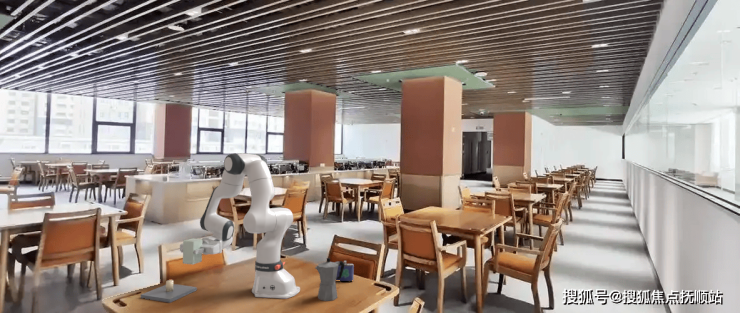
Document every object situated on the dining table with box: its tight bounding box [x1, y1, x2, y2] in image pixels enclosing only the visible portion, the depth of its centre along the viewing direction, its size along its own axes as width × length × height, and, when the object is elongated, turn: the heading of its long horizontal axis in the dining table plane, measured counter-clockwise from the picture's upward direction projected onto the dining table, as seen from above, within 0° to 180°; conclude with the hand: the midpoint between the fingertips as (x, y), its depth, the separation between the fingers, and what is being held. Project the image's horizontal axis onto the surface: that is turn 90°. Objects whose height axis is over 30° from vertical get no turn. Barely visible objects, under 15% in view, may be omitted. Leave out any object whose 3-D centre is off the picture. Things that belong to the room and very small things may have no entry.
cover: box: [182, 237, 203, 265], centre depth 184 cm, size 6×6×11 cm
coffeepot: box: [314, 257, 345, 302], centre depth 172 cm, size 15×9×18 cm, turn 127°
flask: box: [335, 260, 355, 281], centre depth 194 cm, size 9×3×11 cm, turn 88°
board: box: [139, 279, 198, 304], centre depth 171 cm, size 16×16×6 cm
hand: (188, 251), depth 182 cm, fingers closed on cover, 6 cm apart
